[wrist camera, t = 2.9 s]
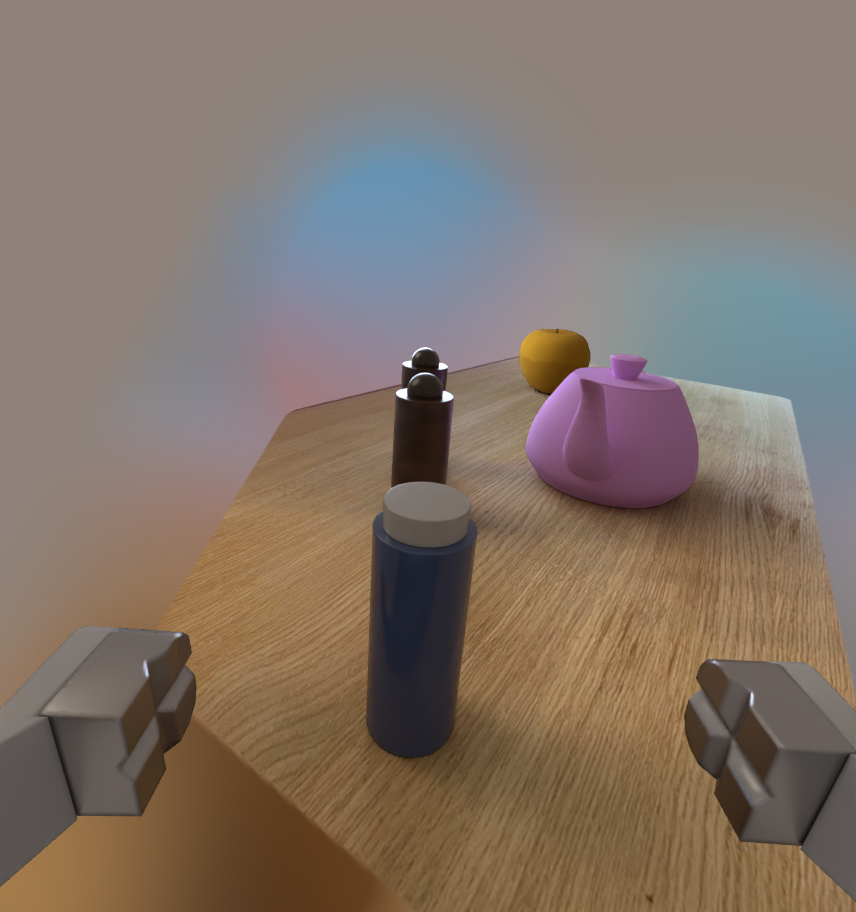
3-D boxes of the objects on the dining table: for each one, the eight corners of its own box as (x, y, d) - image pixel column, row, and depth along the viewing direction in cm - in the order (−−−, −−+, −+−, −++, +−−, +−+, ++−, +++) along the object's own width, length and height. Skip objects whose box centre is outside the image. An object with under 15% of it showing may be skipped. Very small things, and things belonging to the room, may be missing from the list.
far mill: (388, 459, 56) (393, 346, 51) (416, 450, 60) (423, 342, 55) (420, 472, 53) (429, 353, 49) (448, 461, 57) (458, 349, 52)
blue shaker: (347, 718, 25) (350, 497, 20) (407, 669, 28) (421, 469, 23) (414, 777, 22) (435, 539, 18) (471, 715, 25) (501, 501, 21)
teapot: (560, 435, 69) (578, 335, 64) (700, 469, 60) (734, 357, 55) (475, 495, 49) (491, 357, 44) (666, 559, 41) (713, 396, 35)
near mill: (379, 511, 45) (384, 371, 40) (414, 495, 48) (423, 364, 43) (419, 531, 42) (430, 382, 37) (453, 513, 45) (467, 375, 41)
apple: (502, 388, 93) (510, 326, 88) (532, 379, 102) (541, 322, 98) (568, 403, 86) (580, 336, 82) (593, 391, 96) (605, 331, 91)
